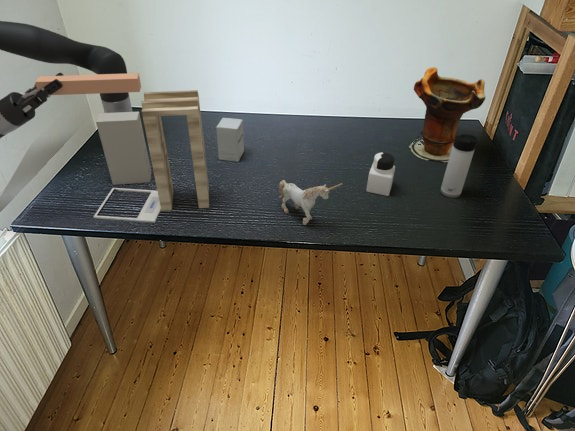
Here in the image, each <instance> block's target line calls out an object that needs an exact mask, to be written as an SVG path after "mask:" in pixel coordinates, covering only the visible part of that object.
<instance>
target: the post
mask: <svg viewBox="0 0 575 431" xmlns="http://www.w3.org/2000/svg"><path fill="white" fill-rule="evenodd" d="M95 124H96V127H97V130H98V135H99V138H100V142H101V146H102V149H103V152H104V157H105V162H106V164H107V168H108V172H109V175H110V179H111V183H112V185H124V184H126V185H127V184H143V183H151V177H152V169H151V164H150V159H149V154H148V149H147V144H146V139H145V134H144V129H143V124H142V119H141V113H140V111H133V112H117V113H104V112H102V113H98V115H97V118H96V121H95Z"/></svg>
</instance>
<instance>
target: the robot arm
mask: <svg viewBox="0 0 575 431" xmlns="http://www.w3.org/2000/svg"><path fill="white" fill-rule="evenodd" d="M0 51H3V52H6V53H10V54H13V55H16V56H20V57H23V58H27V59H31V60H34V61H37V62H42V63H47V64H54V65H55V64H58V65H73V66H75V67H76V66H77V67H80V68H83V69H85V70H88V71H90V72H92V73H95V75H97V74H128V70H127V64H126V61H125V59H124V58H123V56H122V55H121V54H120V53H118V52H116V51H114V50H113V49H111V48H108V47H106V46H101V45H96V44H91V43H86V42H85V43H84V42H80V41H76V40H73V39H71V38H69V37H67V36H64V35H62V34H60V33H57V32H54V31H51V30H49V29H47V28H43V27H40V26H39V27H38V26H36V25H33V24H27V23H22V22H15V21H14V22H13V21H3V20H0ZM54 76H65V74H64V73H63V72H59V73H56V74H55V75H54ZM62 86H63V85H62V83H61V82H60V81H59V80H58V79H55V80H53V81H52V82H50V83H49V84H47V85H46V86H45V88H44V87H42V88H40V89H39V90H38V89H37V86H36V84H35V83H34V86H33V87H31V88H28V89H27V90H26V91H24V94H22V93H20V92H17V91H11V92H10V93H8V94H7V95H5V96H4V97H3V98H1V99H0V139H2V138H3V137H4V136H5V137H6V135H8V134H9V133H13V132H14V131H16V130H18V129H19V128H21V127H22V126H24V125H25V124H27V123H28V122H30V121H31V120H32V119H34V118H35V116H36V109H37V108H39V107H41V106H42V105H43V104H45V102H47V101H48V99H49V98H51V96H52V95H51V94H53V93H54V92H56V91H57V90H59V89H60V88H62ZM99 96H100V97H99V98H100V100H101V104H102V109H103V113H117V112H134V111H133V107H132V103H131V98H130V92H125V93H99Z"/></svg>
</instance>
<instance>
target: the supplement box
mask: <svg viewBox="0 0 575 431" xmlns="http://www.w3.org/2000/svg"><path fill="white" fill-rule="evenodd" d="M243 121H244V120H243V119H240V118H233V117H232V118H231V117H229V118H228V117H222V118H221V120H220V121H219V122H218V124H217V125H216V128H215V129H216V140H217V152H218V153H217V154H218V160H222V161H227V162H228V161H229V162H235V163H236V162H240V159H241V157H242V155H243V154H244V152H245V147H244V146H245V145H244V143H245V142H244V122H243Z"/></svg>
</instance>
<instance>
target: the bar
mask: <svg viewBox="0 0 575 431" xmlns="http://www.w3.org/2000/svg"><path fill="white" fill-rule="evenodd" d="M55 79H58V80H59V81H60V82H61V83H62V85H63V86H62V88H60V89H59V90H57V91H56V92H54V93H53V94H51V96H64V95H65V96H66V95H89V94H90V95H94V94H95V95H96V94H100V93H125V92H129V93H140V92H141V88H142V83H141V77H140V73H137V72H135V73H134V72H133V73H131V72H130V73H127V74H75V75H73V74H70V75H65V74H64V76H55V75H42V76H41V75H40V76H38V77H37V79H36V80H35V81H34V85H35V84H36V86H37V89H38V90H39V89H40V88H42V87H44V88H45V86H46V85H47V84H49V83H50V82H52V81H53V80H55Z"/></svg>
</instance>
